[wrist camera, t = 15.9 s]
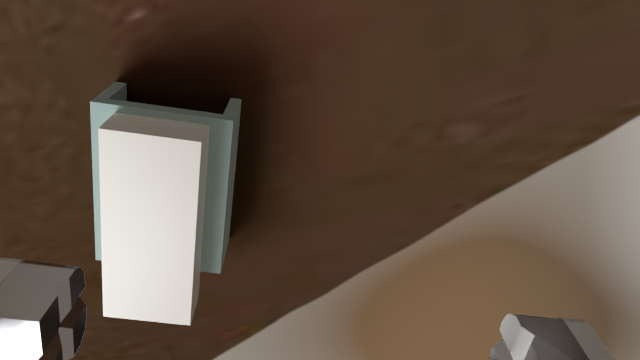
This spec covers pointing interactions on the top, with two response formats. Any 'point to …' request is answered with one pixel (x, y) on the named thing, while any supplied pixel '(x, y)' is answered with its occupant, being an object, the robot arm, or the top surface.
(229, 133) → the case
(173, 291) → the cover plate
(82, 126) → the top surface
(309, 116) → the top surface
